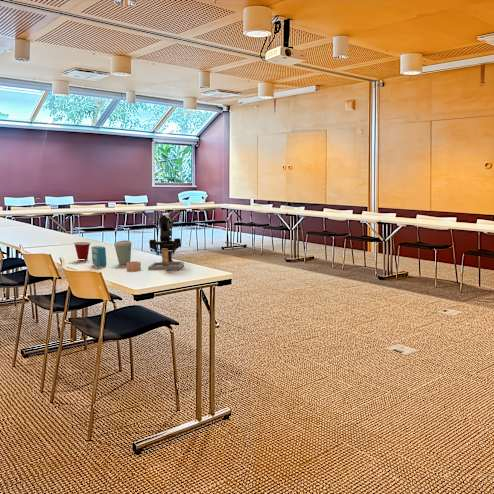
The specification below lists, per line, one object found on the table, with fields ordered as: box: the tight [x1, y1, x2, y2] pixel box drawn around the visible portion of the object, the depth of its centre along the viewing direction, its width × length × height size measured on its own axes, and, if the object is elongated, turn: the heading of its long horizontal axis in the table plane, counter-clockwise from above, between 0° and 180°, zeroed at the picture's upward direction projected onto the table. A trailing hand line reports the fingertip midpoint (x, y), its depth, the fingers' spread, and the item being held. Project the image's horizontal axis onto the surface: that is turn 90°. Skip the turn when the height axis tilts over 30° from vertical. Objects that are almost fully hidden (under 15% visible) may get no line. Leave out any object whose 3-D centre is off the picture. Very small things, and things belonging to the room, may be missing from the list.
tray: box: [147, 261, 185, 272], centre depth 322 cm, size 16×18×2 cm
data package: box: [91, 245, 107, 267], centre depth 341 cm, size 12×4×12 cm, turn 37°
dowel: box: [161, 248, 169, 266], centre depth 319 cm, size 4×4×11 cm
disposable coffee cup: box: [114, 240, 132, 266], centre depth 339 cm, size 11×11×15 cm
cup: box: [125, 260, 142, 272], centre depth 317 cm, size 8×8×5 cm
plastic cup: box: [73, 241, 91, 260], centre depth 367 cm, size 11×11×12 cm
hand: (165, 254), depth 324 cm, fingers open, 9 cm apart
